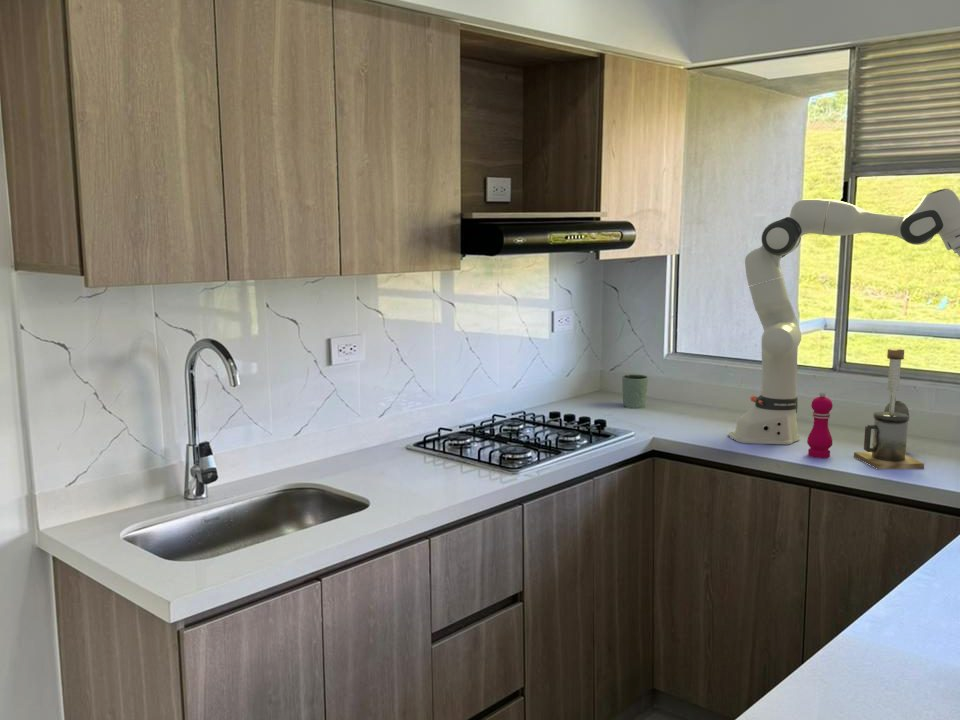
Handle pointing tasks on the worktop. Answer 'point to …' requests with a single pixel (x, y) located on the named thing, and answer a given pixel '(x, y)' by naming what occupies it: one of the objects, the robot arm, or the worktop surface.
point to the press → (888, 434)
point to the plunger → (894, 368)
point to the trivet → (889, 462)
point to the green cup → (634, 390)
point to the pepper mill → (820, 428)
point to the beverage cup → (898, 407)
